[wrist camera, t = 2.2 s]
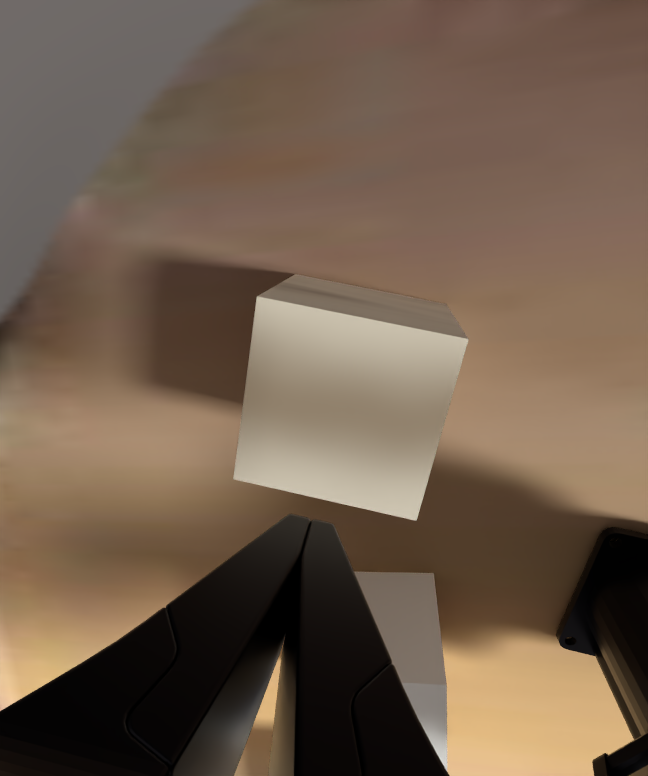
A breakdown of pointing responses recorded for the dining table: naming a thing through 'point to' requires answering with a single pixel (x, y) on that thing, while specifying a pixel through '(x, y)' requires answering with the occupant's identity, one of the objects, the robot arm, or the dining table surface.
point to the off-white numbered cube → (413, 643)
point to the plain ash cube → (347, 393)
